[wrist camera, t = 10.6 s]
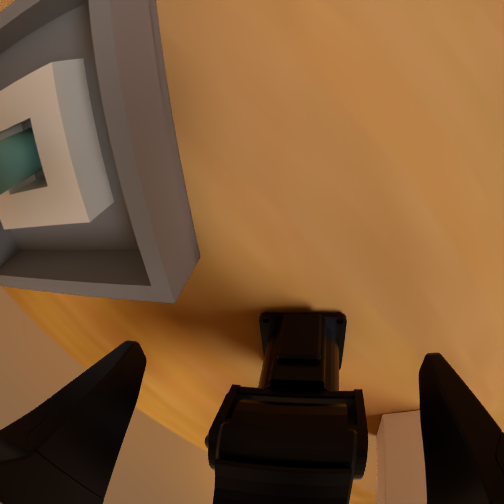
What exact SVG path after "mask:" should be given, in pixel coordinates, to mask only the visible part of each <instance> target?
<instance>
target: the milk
mask: <svg viewBox="0 0 504 504" xmlns="http://www.w3.org/2000/svg"><path fill="white" fill-rule="evenodd" d="M376 442H377V499H376V504H427V492H426V475H425V462H424V451H423V441H422V432H421V423H420V410H416V411H408V412H400V413H390V414H383V415H382V418H381V422H380V425H379V429H378V432H377V436H376Z"/></svg>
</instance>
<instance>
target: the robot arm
mask: <svg viewBox="0 0 504 504" xmlns="http://www.w3.org/2000/svg"><path fill="white" fill-rule="evenodd" d="M264 318H267V319H264ZM339 319H341V321H339ZM259 322H260V330H261V337H262V344H263V352H264V361H263V366H262V371H261V376H260V381H259V386H258V388H252V387H241V386H240V385H232V386H231V388H230V390H229V392H228V393H227V394H226V396H225V398H224V401H223V403H222V405H221V407H220V409H219V411H218V413H217V415H216V417H215V419H214V421H213V424H212V426H211V428H210V430H209V434H208V435H207V436H206V438H205V445H206V446H207V448H208V460H209V465H210V467H211V468H212V469H214V470H215V490H214V498H213V504H349V500H350V494H351V488H352V482H353V479H361V478H362V477H363V475H364V471H365V467H366V461H367V451H368V430H367V421H366V414H365V406H364V399H363V392H362V389H354V391H339V370H340V368H341V363H342V356H343V348H344V340H345V332H346V323H347V320H346V316H345V315H344V314H342V313H278V312H263V313H262V314H261V315H260V319H259ZM145 367H146V357H145V355H144V353H143V351H142V349H141V346H140V344H139V343H138V342H136V341H125V342H123V343H122V344H121V345H119V346H118V347H117V348H115V349H114V350H113V351H111V352H110V353H109V354H107V355H106V356H105V357H103V358H102V359H101V360H99V361H98V362H97V363H95V364H94V365H93V366H91V367H90V368H89V369H87V370H86V371H85V372H84V373H82V374H81V375H79V376H78V377H77V378H75V379H74V380H73V381H71V382H70V383H69V384H67V385H66V386H65V387H63V388H62V389H61V390H60V391H58V392H57V393H56V394H54V395H53V396H52V397H51V398H49V399H47V400H46V401H45V402H44V403H42V404H41V405H39V406H38V407H36V408H35V409H34V410H32V411H31V412H29V413H28V414H26V415H24V416H23V417H21V418H20V419H18V420H16V421H15V422H13V423H11V424H10V425H8V426H6V427H5V428H3V429H1V430H0V504H103V501H104V497H105V494H106V491H107V487H108V485H109V481H110V478H111V475H112V472H113V469H114V466H115V463H116V460H117V457H118V454H119V451H120V448H121V445H122V442H123V439H124V436H125V433H126V430H127V428H128V425H129V422H130V419H131V417H132V414H133V411H134V408H135V405H136V402H137V399H138V395H139V391H140V387H141V383H142V379H143V375H144V371H145ZM419 394H420V423H421V432H422V441H423V451H424V462H425V475H426V492H427V504H504V433H503V432H502V430H501V429H500V427H499V426H498V425H497V423H496V422H495V421H494V419H493V418H492V417H491V415H490V414H489V413H488V412H487V410H486V409H485V408H484V406H483V405H482V404H481V403H480V401H479V400H478V399H477V398H476V396H475V395H474V394H473V393H472V391H471V390H470V389H469V388H468V386H467V385H466V384H465V383H464V381H463V380H462V379H461V378H460V377H459V375H458V374H457V373H456V372H455V370H454V369H453V368H452V367H451V366H450V364H449V363H448V362H447V361H446V360H445V359H444V357H443V356H442V355H441V354H440V353H428V354H426V356H425V358H424V360H423V363H422V365H421V368H420V371H419Z"/></svg>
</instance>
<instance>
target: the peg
mask: <svg viewBox="0 0 504 504" xmlns="http://www.w3.org/2000/svg"><path fill="white" fill-rule="evenodd" d="M41 170H43V168H42V165H41V161H40V157H39V154H38V150H37V146H36V142H35V138H34V133H33V129H32V127H31V128H29V129H26V130H24V131H21V132H19V133H16V134H14V135H12V136H9V137H7V138H5V139H3V140H0V195H1V194H3V193H4V192H6V191H7V190H9V189H11V188H12V187H14V186H15V185H17V184H19V183H20V182H22V181H24V180H25V179H27V178H29V177H30V176H32V175H34V174H36V173H37V172H39V171H41Z"/></svg>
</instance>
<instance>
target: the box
mask: <svg viewBox="0 0 504 504" xmlns="http://www.w3.org/2000/svg"><path fill="white" fill-rule="evenodd" d="M31 127H32V129H33V133H34V138H35V142H36V146H37V150H38V154H39V157H40V161H41V165H42V168H43V170H41V171H39V172H37V173H36V174H34V175H32V176H30V177H29V178H27V179H25V180H24V181H22V182H20V183H19V184H17V185H15V186H14V187H12V188H11V189H9V190H7V191H6V192H4V193H3V194H1V195H0V286H7V287H14V288H21V289H29V290H37V291H45V292H54V293H62V294H71V295H81V296H91V297H101V298H112V299H124V300H136V301H149V302H163V303H175V302H176V301H177V299H178V297H179V295H180V293H181V291H182V289H183V288H184V286H185V284H186V282H187V280H188V278H189V277H190V275H191V273H192V271H193V269H194V268H195V266H196V264H197V262H198V260H199V259H200V253H199V249H198V244H197V240H196V235H195V230H194V226H193V221H192V216H191V212H190V207H189V202H188V197H187V192H186V187H185V182H184V177H183V172H182V167H181V161H180V156H179V151H178V145H177V140H176V134H175V128H174V123H173V117H172V111H171V105H170V99H169V93H168V86H167V80H166V73H165V67H164V60H163V53H162V46H161V38H160V31H159V23H158V15H157V7H156V0H15V1H14V2H13V3H12V4H10V5H9V6H8V7H6V8H5V9H4V10H3V11H1V12H0V140H3V139H5V138H7V137H9V136H12V135H14V134H16V133H19V132H21V131H24V130H26V129H29V128H31Z"/></svg>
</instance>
